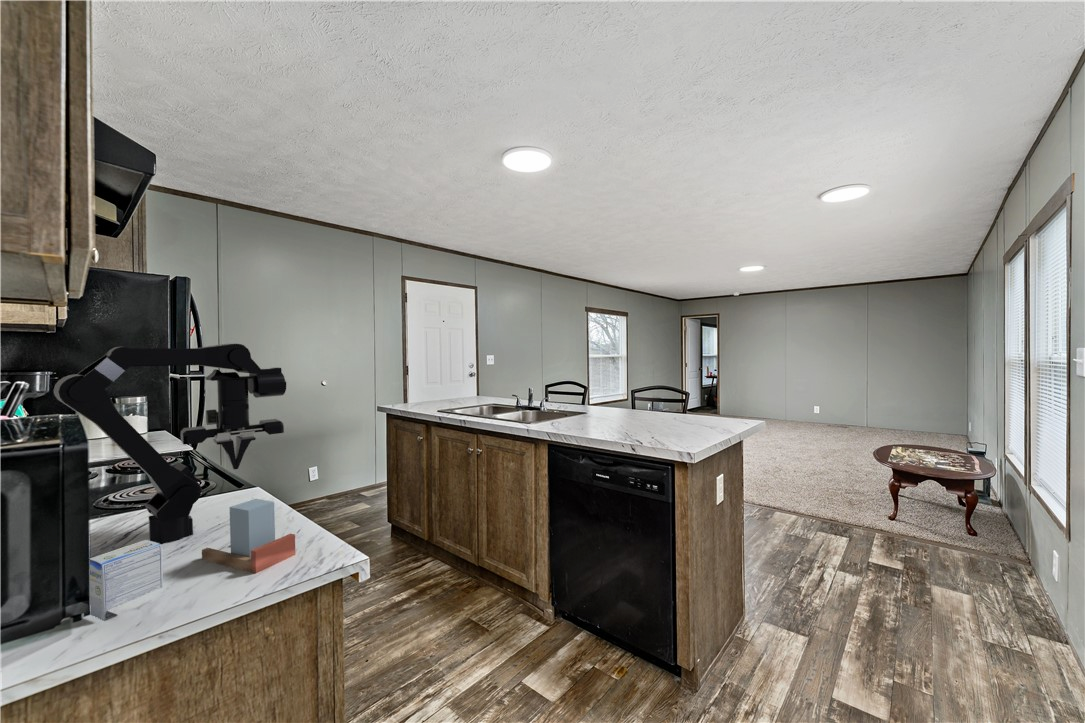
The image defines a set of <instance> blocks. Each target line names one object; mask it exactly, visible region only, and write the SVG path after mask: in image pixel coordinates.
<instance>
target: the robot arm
mask: <svg viewBox="0 0 1085 723" xmlns="http://www.w3.org/2000/svg"><path fill="white" fill-rule="evenodd" d="M251 355H252V354H251V352H250V350H249V349H248V348H247V347H246V346H245V345H244V344H241V343H224V344H223V343H222V344H215V345H209V346H203V347H202V346H201V347H196V348H189V347H187V348H186V347H185V348H183V347H181V348H176V347H170V348H169V347H168V348H167V347H166V348H165V347H164V348H163V347H161V348H160V347H157V348H155V347H128V346H116V347H113V348H111V349H109V350H108V351H107V352H106V353H105V354H104V355H103V356H101V357H100V358H98V359H96V360H95V361H93V362H92V363H91V364H89V365H88V366H85V367H84V369H82V370H80V371H79V372H78V373H77V374H76V373H75V374H69V375H67V376H63V377H61V379H58V381H57V382H56V383H55V384H54V388H53V395H54V397H55V398H56V400H58V401H59V402H61V403H62V404H63V405H66V406H67V407H68V408H69V409H71V410H72V411H75V412H76V413H78V414H79V415H81V416H82V417H83V418H86V419H87V420H89V421H90V422H92V424H94V425H96V427H97V428H98V429H99V430H100V431H101V432H103V433H104V434H105V436H106V437H108V438H109V439H110V441H112V442H113V443H114V444H115V445H116V446H117V447H118V448H119V449H120V450H121V451H122V452H123V453H124V454H125V455H127V456H128V458H130V460H131V461H133V462H134V463H135V465H136V466H138V468H140V470H142V471H143V472H144V473H145V474H146V475H147V477H148V479H149V481H150V483H151V485H152V487H153V488H154V490H155V491H156V493H155V494H154V495H153V496H152V497H151V498H150V499H149V500H148V501H147V502H146V503H145V505H144V507H145V508H146V510H147V512H148V514H151V515H149V516H148V534H149V536H148V537H149V538H148V539H149V540H148V541H152V542H156V543H159V544H161V545H162V546H163V545H164V544H168V543H173V542H177V541H180V540H183V539H184V538H188V537H190V536H191V537H192V536H193V535H194V524H193V522H194V520H193V517H192V516H191V515H190V514H191V511H192V509H193V506H194V504H196V502H197V501H198V500H199V499H200V497H201V495H202V491H203V489H202V486H201V484H200V483H201V481H202V480H201V479H200V478H199V477H196V476H195V475H194V474H193V473H192V471H191V469H190V468H189V467H188V466H187V465H184V464H182V463H180V462H177V463H176V464H174V466H173V465H171V464H170V463H169V462H168V460H166V459H165V458H164V457H163V456H162V455H161V454H160V453H159V452H158V451H157V450H156V449H155V448H154V447H153V446H152V445H151V444H150V443H149V441H147V439H145V438H144V437H143V436H142V435H141V434H140V433H139V432H138V431H137V430H136V429H135V428H134V427H133V426H132V425H131V423H130V422H128V421H127V419H125V417H124V416H123V415H122V414H121V413H120V412H119V411H118V410H117V408H116V406H115V404H114V401H113V400H112V399H111V396H110V394H109V393H108V392H107V390H106V388H108V387H109V386H110V385H111V384H113V383H114V382H115V381H116V380H117V379H118V378H119V377H120V376H121V375H122V374H123V373H124V372H126V370H127V369H129V368H132V367H169V366H170V367H173V366H175V367H176V366H200V367H201V366H202V367H209V368H215V369H213V370H212V372H211V373H209V374H208V375H207V376H206V377H205V380H206V381H212V382H215V381H217V382H216V384H217V409H206V410H205V422H206V423H205V425H207V426H213V425H216V428H209V429H206V427H205V426H203V425H201V426H192V427H191V426H190V427H183V428H182V430H180V442H181V444H182V445H193V444H194V445H195V444H202V443H204V442H205V441H206V440H207V439H208V438H209V439H210V438H211V439H213V440H212V441H213V442H214V444H216V445H217V446H218V445H220V446H221V447H222V448H223V450H224V451H225V453H226V455H227V458H228V460H229V463H230V465H231V467H232V469H233V470H238V469H239V468H240V465H241V462H242V460H243V457H244V455H245V453H246V451H247V449H248V447H249V446H250V444H251V442H252V441H256V439H257V438H256V436H255V435H256V433H262V432H265V433H266V434H268V435H269V436H270V435H277V434H284V432H285V428H284V422H282V421H281V420H280V419H277V418H271V419H270V418H269V419H261V420H259V423H257V424H256V423H255V424H250V404H249V394H251V395H253V397H254V398H256V399H257V398H268V397H281V396H283V395H285V393H286V391H287V380H286V379H285V375H284V374H283V373H282V372H283V371H282V367H269V368H261V367H260V366H259V365H258V364H257V363H256V362H255V361H254V359H253V358H252V356H251ZM220 369H222V370H233V371H230V372H229V371H228V372H226V371H225V372H223V371H221V370H220ZM239 373H242V374H243V373H244V374H249V375H241V376H240V374H239ZM232 436H235V442H234V440H233V439H232V438H231V437H232ZM234 443H235V444H236V446H235V445H234ZM199 482H200V483H199Z"/></svg>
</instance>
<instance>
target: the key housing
mask: <svg viewBox="0 0 1085 723" xmlns="http://www.w3.org/2000/svg"><path fill="white" fill-rule="evenodd" d="M293 556H294V557H295V556H296V534H294V533H288V534H286V535H283V536H281V537H279V538H277V539H276V538H275V540H274V541H272V542H269V543H267V544H265V545H262V546H260V547H258V548H255V549H253V550H251V558H249V557H245V556H241V555H236V554H232V553H231V552H227V551H223V550H219V549H215V548H210V547H205V548H202V550H201V560H203V561H206V562H210V563H214V564H217V565H221V566H226V567H230V568H232V569H233V568H234V569H237V570H242V571H245V572H249V573H253V574H258V573H260V572H263V571H265V570H266V569H269V568H271V567H272V566H275V565H277V564H280V563H281V562H283V561H285V560H287V559H290V558H292V557H293Z"/></svg>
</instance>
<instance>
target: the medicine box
mask: <svg viewBox="0 0 1085 723" xmlns="http://www.w3.org/2000/svg"><path fill="white" fill-rule="evenodd" d="M89 559H90V605H91V615H90V616H92V617H94V616H95V617H94V618H96V617H98V618H97V619H99V618H100V619H99V620H101V619H102V620H101V621H107V620H108V619H111V618H113V617H115V616H118V614H117V613H115V612H111V611H110V610H112V609H115V608H117V607H120V606H122V605H124V604H127V603H129V602H133V601H134V600H136V599H138V598H141V597H143V596H145V595H148V594H150V593H152V592H155V591H157V590H160V589H162V588H164V577H163V576H164V573H163V570H164V568H163V566H164V565H163V544H162V545H161V544H159V543H156V542H152V541H149V540H148V539H145V540H141V541H137V542H136V543H132V544H128V545H126V546H123V547H120V548H117V549H113V550H111V551H108V552H106V553H102V554H99V555H96V556H93V557H89Z"/></svg>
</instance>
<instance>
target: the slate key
mask: <svg viewBox="0 0 1085 723" xmlns="http://www.w3.org/2000/svg"><path fill="white" fill-rule="evenodd" d="M275 522H276V520H275V501H271V500H266V499H265V500H264V499H260V498H253V499H250V500H247V501H244V502H242V503H239V504H235V505H231V506H230V507H229V529H230V530H229V531H230V532H229V534H230V535H229V536H230V538H229V539H230V540H229V541H230V553H232V554H236V555H241V556H245V557H249V558H251V550H253V549H255V548H258V547H260V546H262V545H265V544H267V543H269V542H272V541H274V540H276V527H275V526H276V525H275Z"/></svg>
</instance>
